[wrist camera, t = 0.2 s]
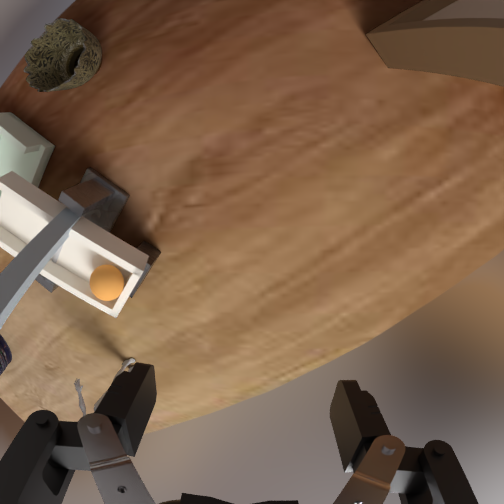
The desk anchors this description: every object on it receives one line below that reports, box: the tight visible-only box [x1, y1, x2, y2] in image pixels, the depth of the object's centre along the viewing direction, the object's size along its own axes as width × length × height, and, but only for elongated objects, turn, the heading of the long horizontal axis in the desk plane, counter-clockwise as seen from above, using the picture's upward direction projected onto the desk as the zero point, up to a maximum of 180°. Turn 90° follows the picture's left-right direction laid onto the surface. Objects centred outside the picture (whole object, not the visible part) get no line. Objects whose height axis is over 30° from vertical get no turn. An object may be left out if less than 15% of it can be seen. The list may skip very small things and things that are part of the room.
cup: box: [24, 18, 102, 92], centre depth 23 cm, size 8×7×8 cm
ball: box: [90, 264, 124, 301], centre depth 28 cm, size 4×4×4 cm
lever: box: [0, 171, 149, 329], centre depth 19 cm, size 9×18×21 cm, turn 53°
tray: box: [0, 112, 55, 197], centre depth 29 cm, size 11×10×5 cm
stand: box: [35, 167, 161, 298], centre depth 31 cm, size 12×12×8 cm
